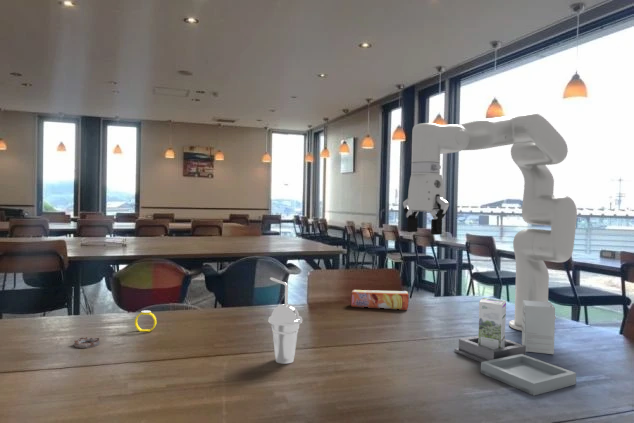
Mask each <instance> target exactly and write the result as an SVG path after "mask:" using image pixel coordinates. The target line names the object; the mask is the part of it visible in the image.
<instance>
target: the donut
mask: <svg viewBox="0 0 634 423" xmlns="http://www.w3.org/2000/svg"><path fill="white" fill-rule="evenodd" d="M73 342H74V343H73V345H74V347H75V348H76V349H90V348H94V347H97V346H100V344H101V343H100V338H99V337H85V338H84V337H81V338H80V337H79V339H77V340H74V341H73Z"/></svg>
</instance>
